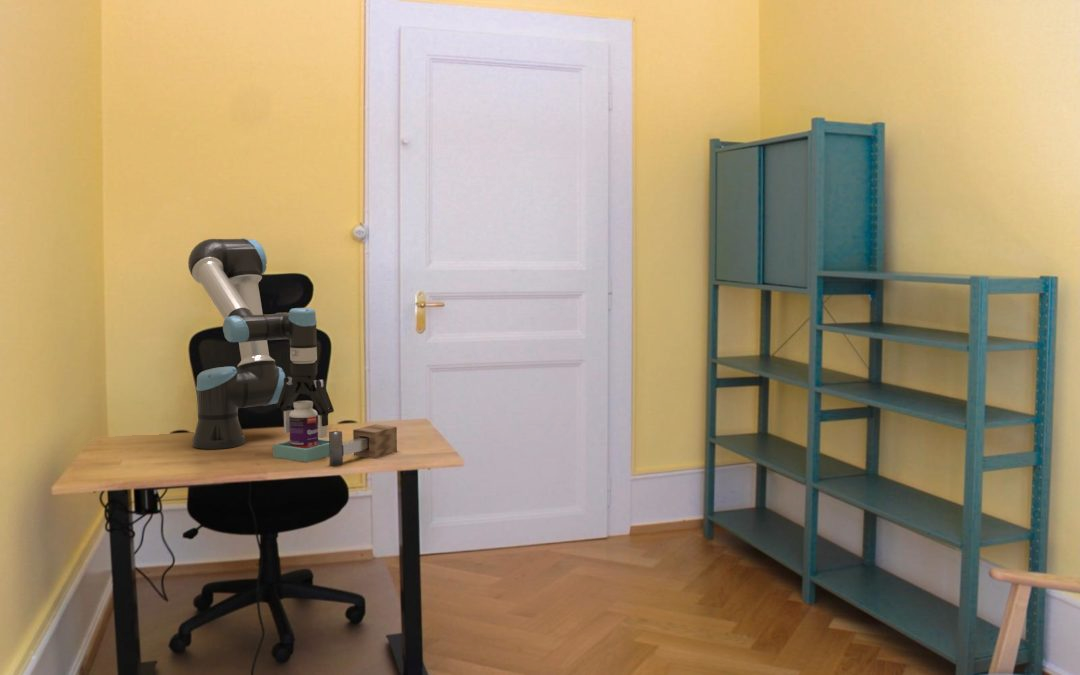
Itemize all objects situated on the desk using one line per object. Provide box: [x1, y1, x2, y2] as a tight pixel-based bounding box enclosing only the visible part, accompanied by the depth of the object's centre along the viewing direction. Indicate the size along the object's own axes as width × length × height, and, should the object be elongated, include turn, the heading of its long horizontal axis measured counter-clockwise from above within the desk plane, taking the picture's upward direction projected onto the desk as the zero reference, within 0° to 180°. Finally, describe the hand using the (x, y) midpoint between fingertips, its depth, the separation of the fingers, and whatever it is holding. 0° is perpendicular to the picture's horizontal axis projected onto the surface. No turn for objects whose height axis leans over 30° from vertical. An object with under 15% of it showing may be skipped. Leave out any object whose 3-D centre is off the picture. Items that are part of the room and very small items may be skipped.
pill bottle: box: [289, 400, 319, 449], centre depth 279 cm, size 8×8×14 cm
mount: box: [352, 423, 398, 459], centre depth 281 cm, size 10×8×8 cm
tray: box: [272, 438, 329, 463], centre depth 279 cm, size 13×13×4 cm
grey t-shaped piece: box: [328, 430, 369, 466], centre depth 272 cm, size 17×4×9 cm, turn 150°
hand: (305, 434), depth 279 cm, fingers open, 13 cm apart
